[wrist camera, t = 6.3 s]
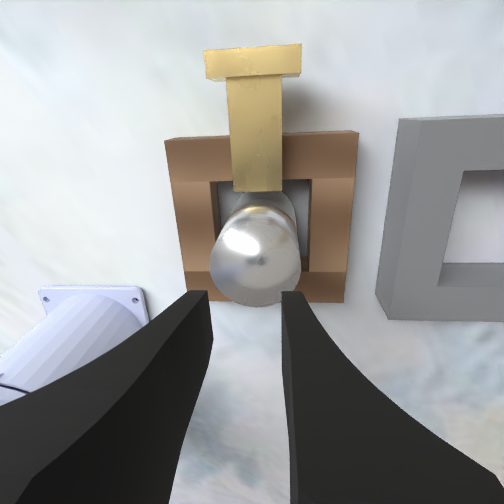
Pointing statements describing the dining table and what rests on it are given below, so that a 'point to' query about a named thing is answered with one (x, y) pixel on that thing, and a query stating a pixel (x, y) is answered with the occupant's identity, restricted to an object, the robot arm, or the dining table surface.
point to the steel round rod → (257, 250)
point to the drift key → (255, 109)
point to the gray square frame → (437, 222)
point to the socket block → (293, 167)
